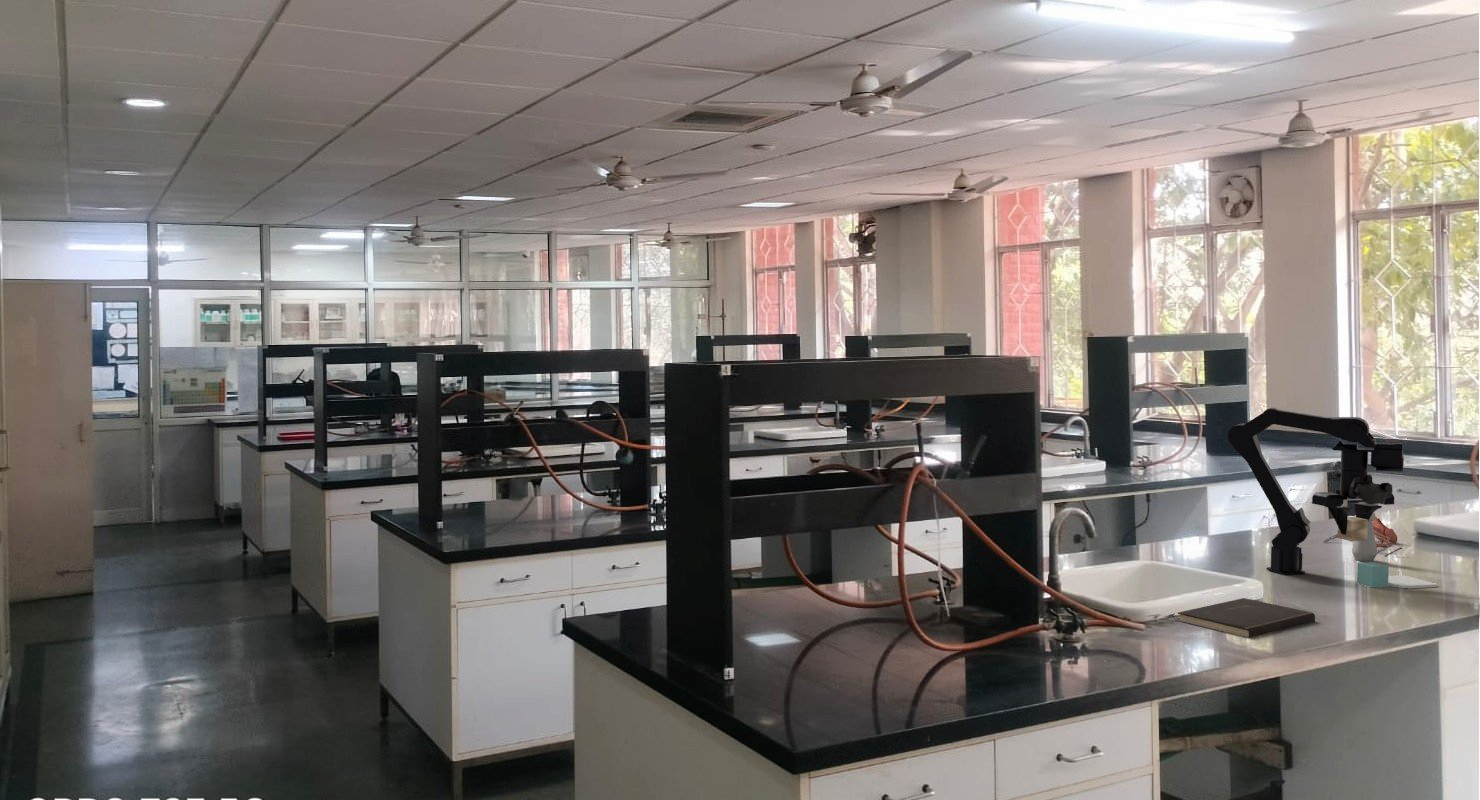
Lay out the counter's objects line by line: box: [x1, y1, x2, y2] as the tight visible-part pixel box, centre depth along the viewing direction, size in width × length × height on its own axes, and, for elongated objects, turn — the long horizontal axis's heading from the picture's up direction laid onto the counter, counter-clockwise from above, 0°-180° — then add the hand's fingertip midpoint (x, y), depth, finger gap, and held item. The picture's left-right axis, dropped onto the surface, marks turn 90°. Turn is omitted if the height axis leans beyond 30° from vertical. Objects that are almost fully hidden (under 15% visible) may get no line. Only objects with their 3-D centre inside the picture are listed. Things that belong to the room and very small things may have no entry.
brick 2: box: [1356, 561, 1390, 588], centre depth 263 cm, size 4×4×5 cm
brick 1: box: [1336, 516, 1368, 542], centre depth 269 cm, size 4×4×5 cm
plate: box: [1388, 574, 1439, 589], centre depth 265 cm, size 10×10×1 cm
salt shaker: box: [1351, 511, 1378, 563], centre depth 291 cm, size 6×6×13 cm
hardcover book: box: [1177, 597, 1316, 639], centre depth 230 cm, size 16×23×2 cm
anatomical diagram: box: [1323, 515, 1403, 557], centre depth 310 cm, size 21×9×25 cm
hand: (1352, 534), depth 269 cm, fingers closed on brick 1, 4 cm apart
